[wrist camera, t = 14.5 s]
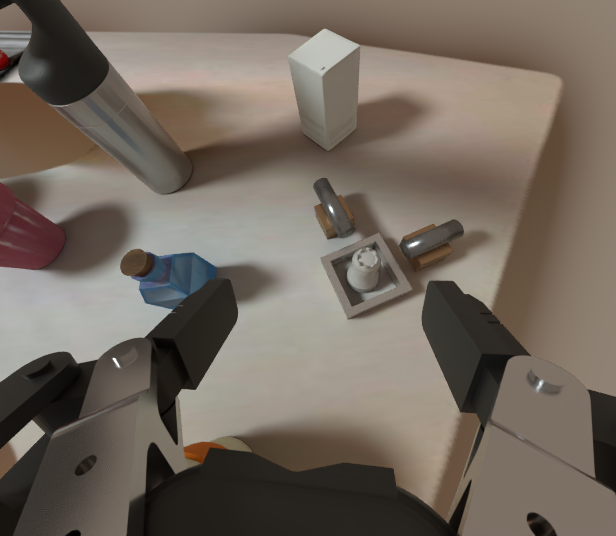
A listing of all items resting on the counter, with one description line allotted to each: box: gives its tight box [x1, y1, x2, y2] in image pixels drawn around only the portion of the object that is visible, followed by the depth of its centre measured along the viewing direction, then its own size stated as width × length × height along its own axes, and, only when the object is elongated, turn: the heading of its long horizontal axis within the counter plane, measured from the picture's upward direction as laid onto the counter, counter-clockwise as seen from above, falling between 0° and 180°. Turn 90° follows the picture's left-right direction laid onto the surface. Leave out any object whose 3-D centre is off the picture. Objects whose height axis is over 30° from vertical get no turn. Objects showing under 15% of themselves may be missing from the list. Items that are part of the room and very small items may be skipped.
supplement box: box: [288, 29, 360, 151], centre depth 38 cm, size 7×7×13 cm
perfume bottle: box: [120, 249, 217, 310], centre depth 31 cm, size 6×6×12 cm
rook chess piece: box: [346, 247, 381, 293], centre depth 30 cm, size 4×4×8 cm
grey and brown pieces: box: [313, 178, 464, 319], centre depth 33 cm, size 19×17×5 cm
